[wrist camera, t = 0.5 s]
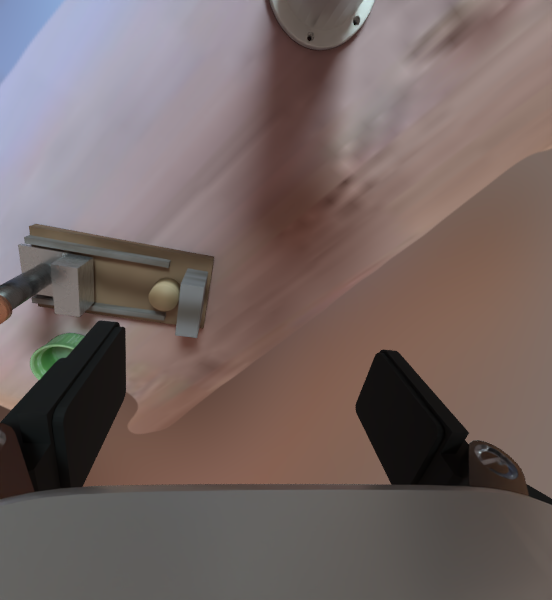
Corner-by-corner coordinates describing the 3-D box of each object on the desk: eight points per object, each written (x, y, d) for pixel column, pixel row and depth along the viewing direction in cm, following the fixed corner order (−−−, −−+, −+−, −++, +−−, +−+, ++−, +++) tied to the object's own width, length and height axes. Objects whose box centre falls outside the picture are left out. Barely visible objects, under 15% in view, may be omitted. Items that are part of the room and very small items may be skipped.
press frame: (36, 223, 39) (-5, 237, 33) (214, 256, 44) (210, 274, 38) (44, 301, 44) (10, 327, 38) (204, 323, 49) (198, 349, 42)
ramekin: (50, 322, 46) (33, 337, 42) (110, 339, 49) (99, 354, 45) (42, 365, 49) (26, 383, 45) (99, 378, 52) (88, 396, 48)
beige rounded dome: (155, 275, 43) (149, 283, 40) (182, 279, 44) (179, 288, 41) (153, 299, 45) (147, 308, 42) (180, 303, 45) (176, 312, 43)
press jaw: (21, 243, 39) (-58, 274, 28) (95, 256, 40) (46, 290, 30) (27, 290, 41) (-43, 334, 31) (96, 300, 43) (51, 345, 33)
